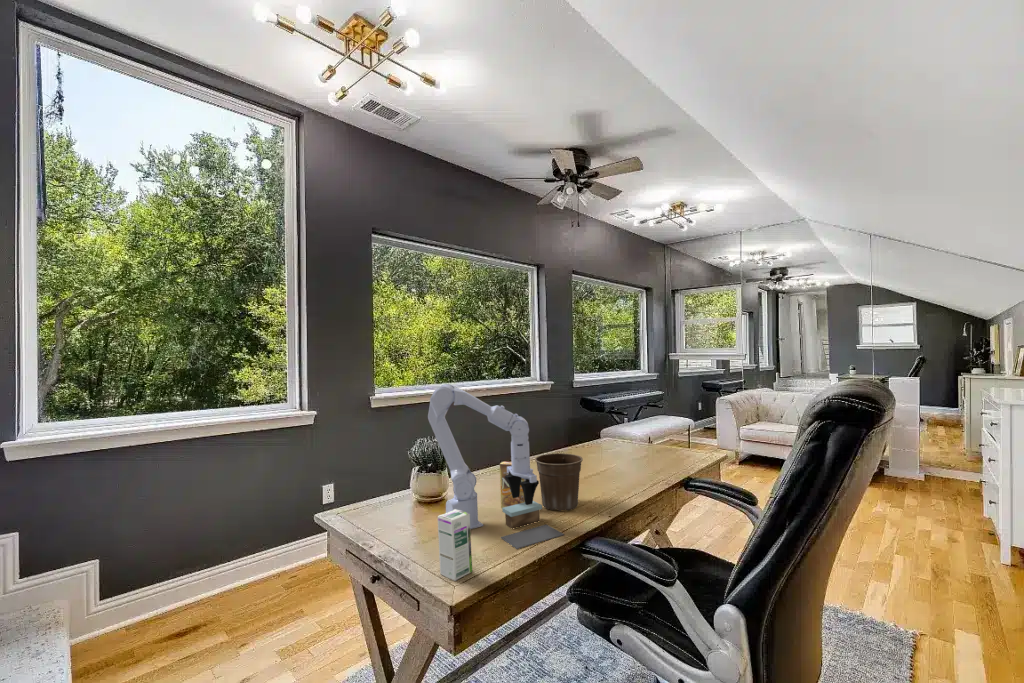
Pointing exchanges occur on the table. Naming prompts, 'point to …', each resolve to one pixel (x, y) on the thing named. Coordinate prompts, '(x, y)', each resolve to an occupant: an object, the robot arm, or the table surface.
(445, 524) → the syrup box
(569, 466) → the plant pot
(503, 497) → the candy box
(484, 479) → the table surface
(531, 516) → the crate
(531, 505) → the lid
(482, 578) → the table surface
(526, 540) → the mat
